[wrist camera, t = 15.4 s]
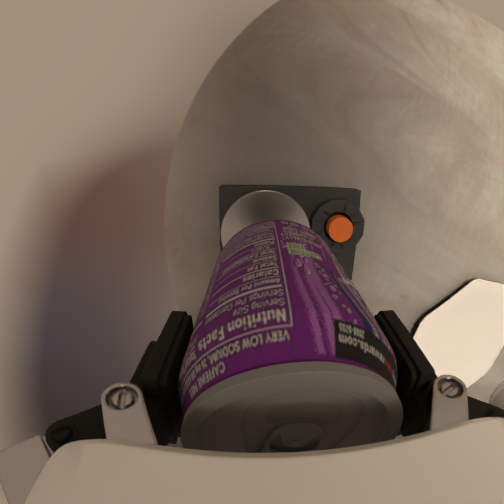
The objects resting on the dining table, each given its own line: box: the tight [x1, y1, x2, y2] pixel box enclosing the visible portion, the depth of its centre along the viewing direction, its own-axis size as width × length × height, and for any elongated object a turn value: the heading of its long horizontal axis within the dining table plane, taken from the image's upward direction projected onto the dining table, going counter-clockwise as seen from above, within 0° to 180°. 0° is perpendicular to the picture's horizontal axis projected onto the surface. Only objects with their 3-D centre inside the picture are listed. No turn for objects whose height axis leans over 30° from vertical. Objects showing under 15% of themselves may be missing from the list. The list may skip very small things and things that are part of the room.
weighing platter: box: [221, 190, 310, 248], centre depth 28 cm, size 8×8×1 cm
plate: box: [413, 278, 504, 388], centre depth 35 cm, size 24×24×2 cm
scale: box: [219, 185, 364, 280], centre depth 30 cm, size 14×14×3 cm
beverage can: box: [177, 219, 403, 453], centre depth 12 cm, size 7×7×12 cm
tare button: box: [326, 215, 353, 242], centre depth 27 cm, size 2×2×1 cm
